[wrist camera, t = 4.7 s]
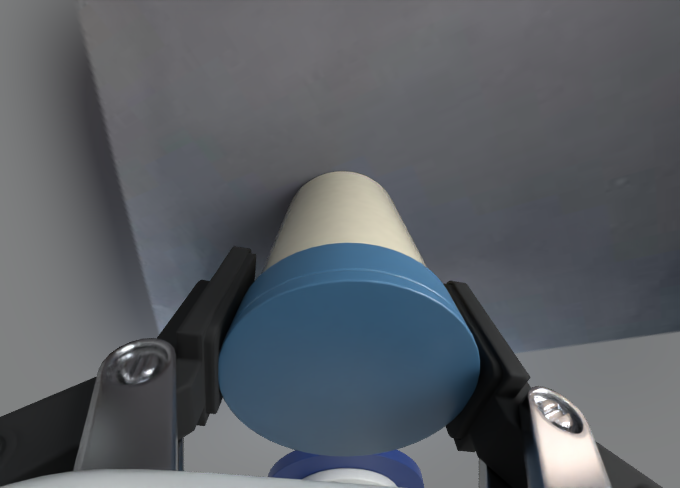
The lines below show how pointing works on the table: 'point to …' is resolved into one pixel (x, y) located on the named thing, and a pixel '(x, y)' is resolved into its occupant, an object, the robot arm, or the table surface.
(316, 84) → the table surface
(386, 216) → the jar
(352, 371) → the lid
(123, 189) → the table surface
